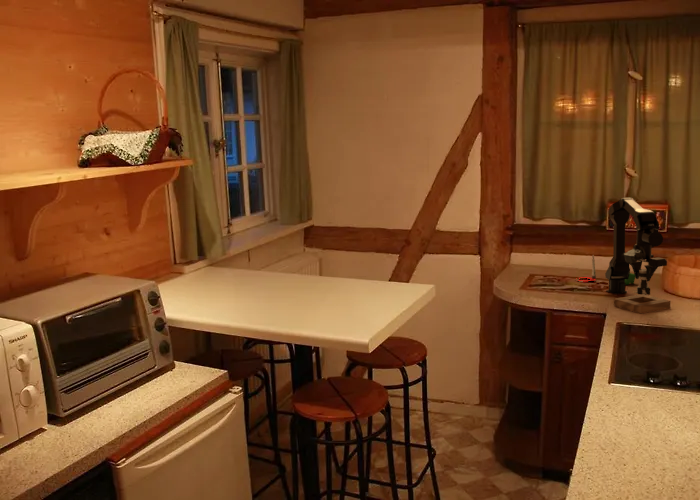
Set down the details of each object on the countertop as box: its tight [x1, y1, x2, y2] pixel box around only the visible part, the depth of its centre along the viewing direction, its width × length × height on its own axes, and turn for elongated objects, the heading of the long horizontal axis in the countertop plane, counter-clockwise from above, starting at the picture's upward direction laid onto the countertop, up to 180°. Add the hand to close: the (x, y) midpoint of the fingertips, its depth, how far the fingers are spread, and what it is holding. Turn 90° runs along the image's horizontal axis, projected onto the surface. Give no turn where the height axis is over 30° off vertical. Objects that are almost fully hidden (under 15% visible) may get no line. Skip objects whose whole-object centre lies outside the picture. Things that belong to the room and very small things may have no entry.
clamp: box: [625, 272, 636, 286], centre depth 315 cm, size 12×6×9 cm, turn 3°
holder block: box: [613, 294, 672, 314], centre depth 272 cm, size 14×16×3 cm
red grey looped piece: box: [578, 254, 597, 283], centre depth 322 cm, size 8×13×9 cm
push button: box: [632, 268, 651, 296], centre depth 271 cm, size 7×5×10 cm
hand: (642, 280), depth 271 cm, fingers closed on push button, 5 cm apart
